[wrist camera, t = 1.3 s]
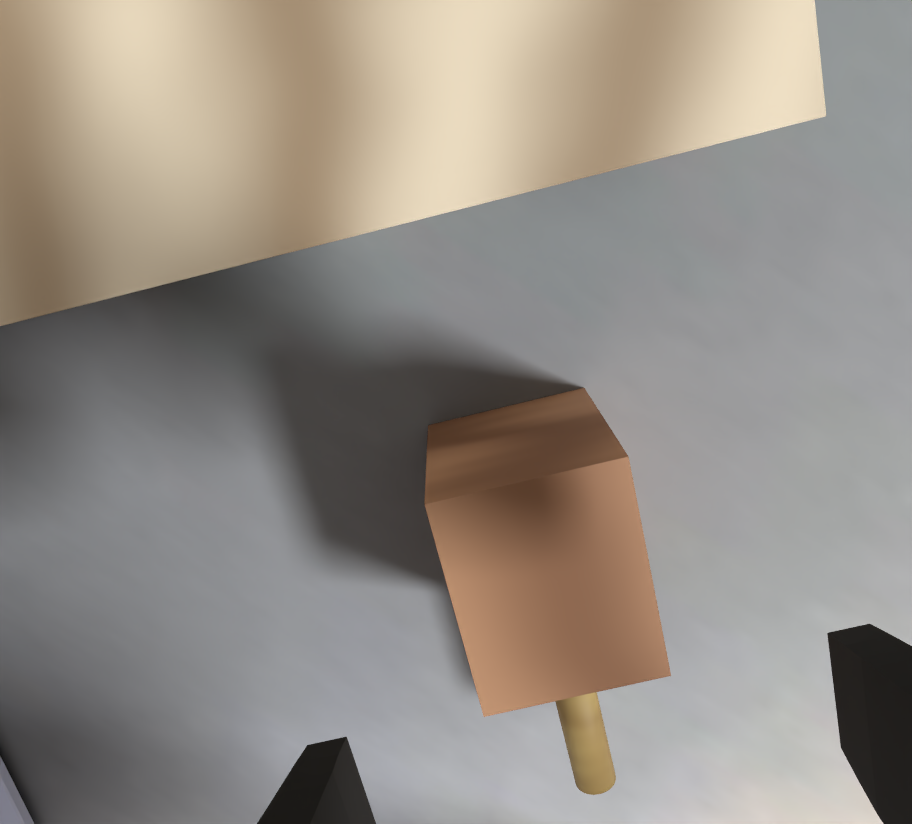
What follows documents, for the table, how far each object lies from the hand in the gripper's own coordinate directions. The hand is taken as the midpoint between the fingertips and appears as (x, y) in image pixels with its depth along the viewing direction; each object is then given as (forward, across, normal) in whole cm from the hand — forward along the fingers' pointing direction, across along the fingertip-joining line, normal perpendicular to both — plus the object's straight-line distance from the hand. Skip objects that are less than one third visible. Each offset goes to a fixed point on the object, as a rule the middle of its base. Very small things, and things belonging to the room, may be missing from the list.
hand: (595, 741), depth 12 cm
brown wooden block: (+9, 0, +2) cm, 10 cm away
